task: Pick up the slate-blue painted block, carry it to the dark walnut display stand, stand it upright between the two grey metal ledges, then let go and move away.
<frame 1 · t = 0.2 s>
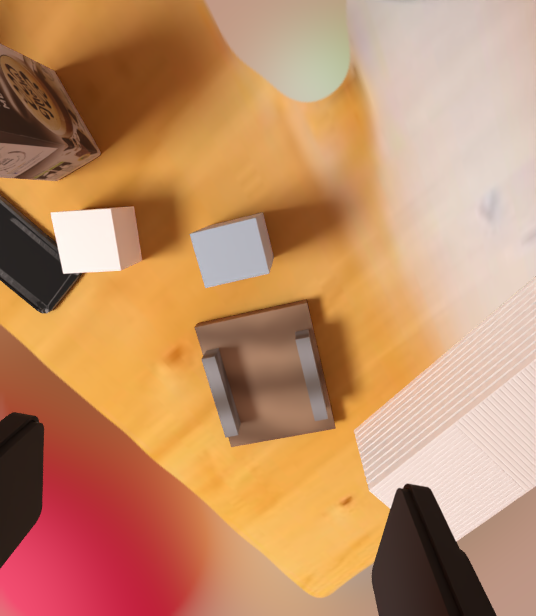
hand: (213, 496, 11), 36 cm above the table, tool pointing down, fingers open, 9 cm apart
slate block: (242, 241, 45), on the table
display stand: (267, 373, 49), on the table
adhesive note: (113, 235, 46), on the table
phone: (17, 247, 47), on the table
coffee box: (56, 127, 43), on the table
stack of papers: (484, 372, 48), on the table
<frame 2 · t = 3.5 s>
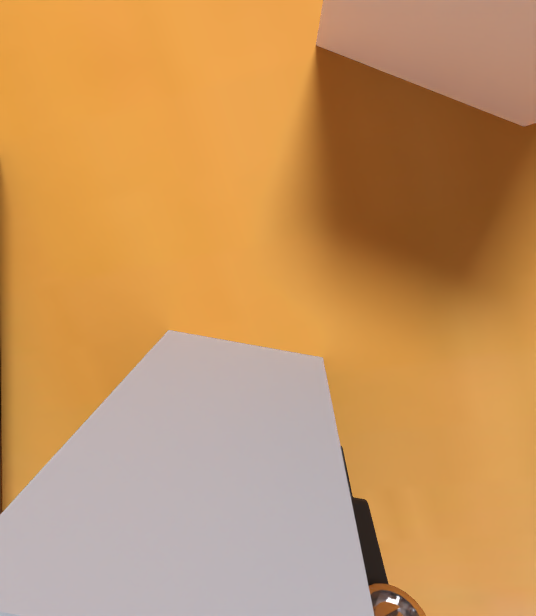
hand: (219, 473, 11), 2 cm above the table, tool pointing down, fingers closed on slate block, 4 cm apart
slate block: (232, 425, 14), on the table, touching gripper
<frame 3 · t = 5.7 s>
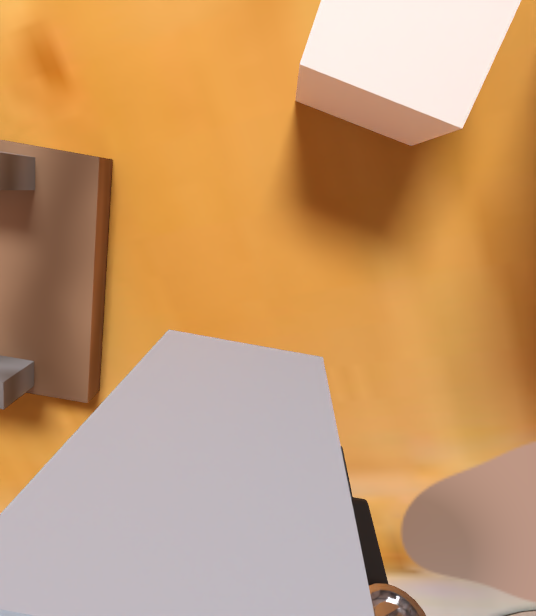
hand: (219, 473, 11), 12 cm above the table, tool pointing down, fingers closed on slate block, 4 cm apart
slate block: (232, 425, 14), point 9 cm above the table, touching gripper
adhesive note: (378, 58, 19), on the table
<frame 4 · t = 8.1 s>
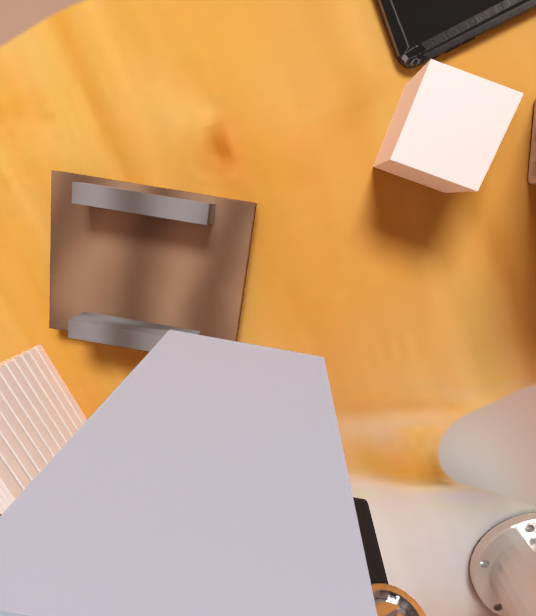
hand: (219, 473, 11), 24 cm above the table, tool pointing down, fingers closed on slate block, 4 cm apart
slate block: (233, 425, 14), point 21 cm above the table, touching gripper
display stand: (152, 266, 34), on the table
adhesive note: (424, 141, 31), on the table
stack of papers: (83, 497, 42), on the table
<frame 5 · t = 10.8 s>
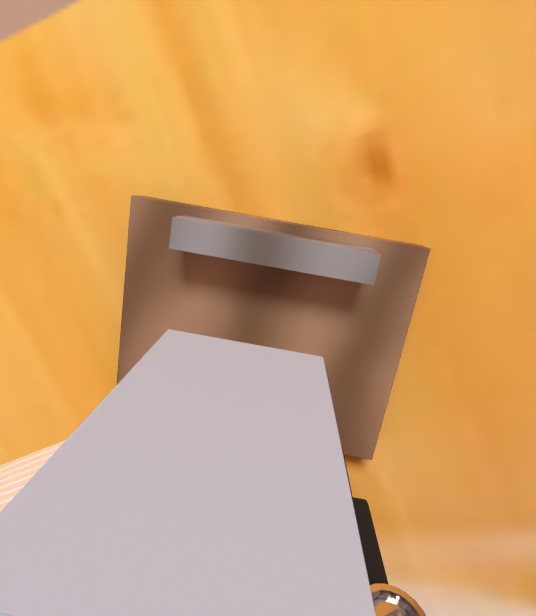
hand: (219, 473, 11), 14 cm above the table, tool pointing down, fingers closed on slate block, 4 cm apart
slate block: (232, 425, 14), point 11 cm above the table, touching gripper
display stand: (261, 328, 25), on the table
when the fingers open (6 cm above the table, at t = 13.1 s): slate block drops 2 cm, resting on display stand.
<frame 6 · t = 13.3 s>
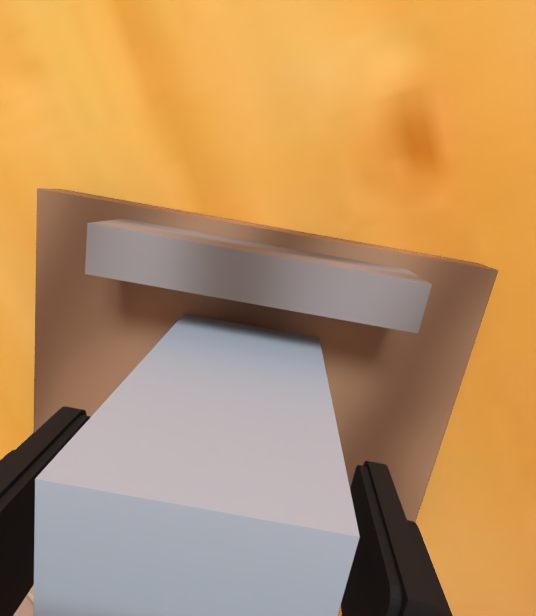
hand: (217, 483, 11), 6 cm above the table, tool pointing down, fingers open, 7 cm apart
slate block: (239, 398, 16), point 1 cm above the table, touching display stand
display stand: (243, 381, 17), on the table
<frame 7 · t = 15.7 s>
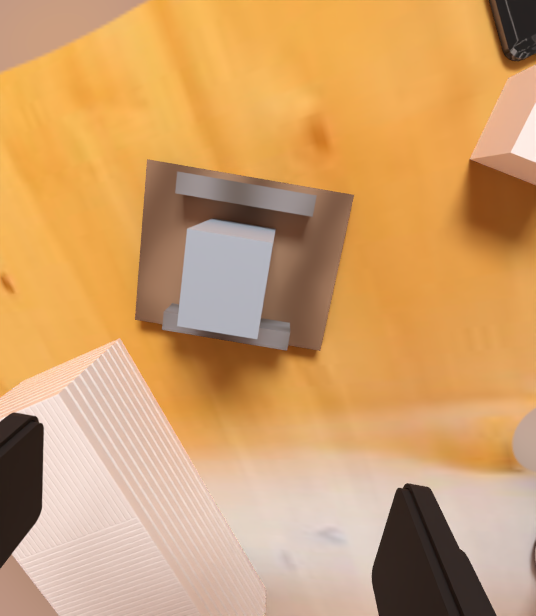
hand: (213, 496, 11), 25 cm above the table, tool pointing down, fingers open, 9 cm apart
slate block: (239, 260, 33), point 1 cm above the table, touching display stand
display stand: (240, 257, 34), on the table
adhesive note: (521, 134, 31), on the table
stack of papers: (155, 490, 42), on the table
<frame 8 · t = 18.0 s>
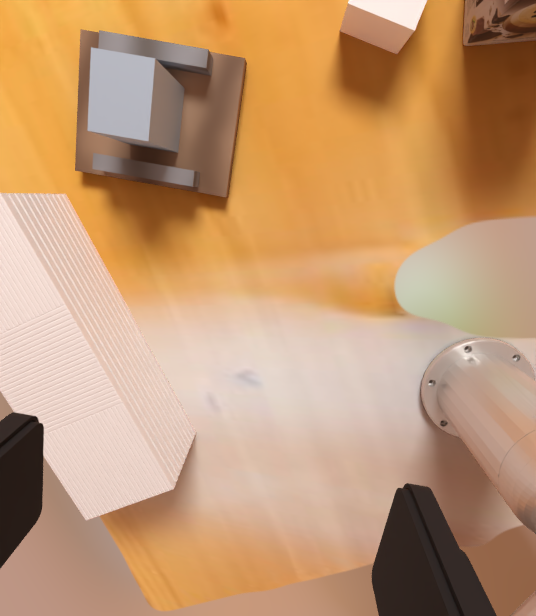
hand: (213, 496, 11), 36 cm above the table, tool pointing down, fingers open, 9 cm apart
slate block: (156, 117, 41), point 1 cm above the table, touching display stand
display stand: (160, 119, 42), on the table
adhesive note: (380, 10, 39), on the table
coffee box: (512, 7, 38), on the table
stack of papers: (99, 337, 49), on the table
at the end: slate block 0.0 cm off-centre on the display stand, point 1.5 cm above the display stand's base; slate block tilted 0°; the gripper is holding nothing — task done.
